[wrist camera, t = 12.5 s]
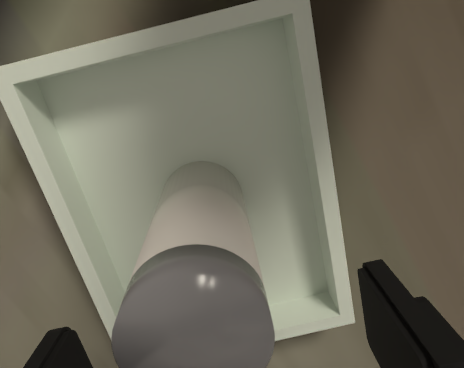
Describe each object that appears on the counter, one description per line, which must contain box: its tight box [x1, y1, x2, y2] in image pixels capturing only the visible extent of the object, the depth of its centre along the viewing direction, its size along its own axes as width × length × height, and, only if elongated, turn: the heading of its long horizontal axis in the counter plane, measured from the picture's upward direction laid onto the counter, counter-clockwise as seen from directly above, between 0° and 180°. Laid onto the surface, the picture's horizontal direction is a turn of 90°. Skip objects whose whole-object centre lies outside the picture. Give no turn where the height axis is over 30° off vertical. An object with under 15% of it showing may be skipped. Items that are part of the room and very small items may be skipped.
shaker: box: [111, 161, 275, 368], centre depth 15 cm, size 5×5×11 cm
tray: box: [0, 0, 355, 341], centre depth 19 cm, size 14×18×3 cm
